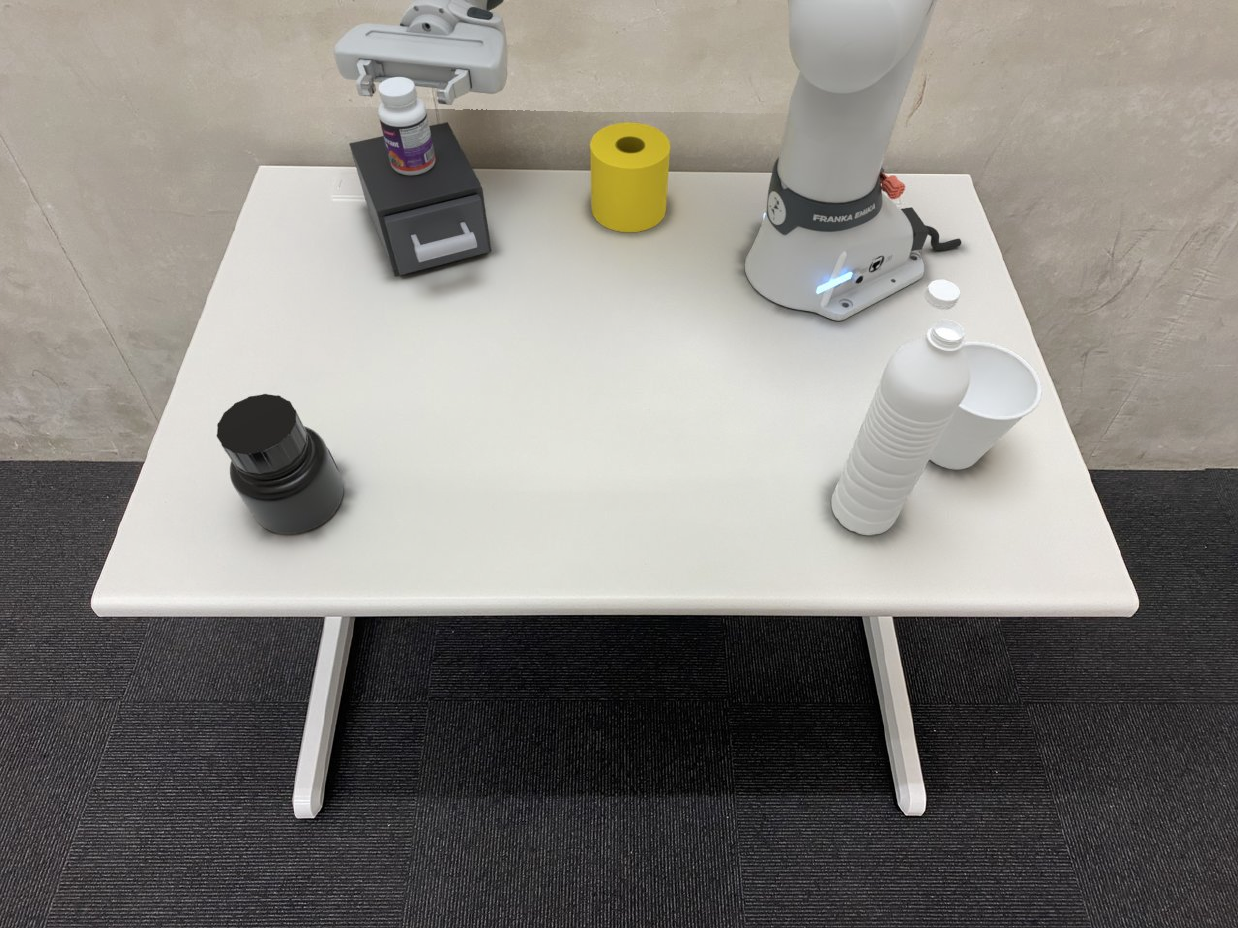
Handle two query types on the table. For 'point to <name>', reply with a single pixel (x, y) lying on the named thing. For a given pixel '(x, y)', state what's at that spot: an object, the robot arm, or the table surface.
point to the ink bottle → (279, 465)
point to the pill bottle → (405, 127)
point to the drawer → (437, 233)
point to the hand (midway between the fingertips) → (403, 94)
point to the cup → (987, 404)
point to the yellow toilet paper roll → (629, 176)
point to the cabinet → (413, 181)
